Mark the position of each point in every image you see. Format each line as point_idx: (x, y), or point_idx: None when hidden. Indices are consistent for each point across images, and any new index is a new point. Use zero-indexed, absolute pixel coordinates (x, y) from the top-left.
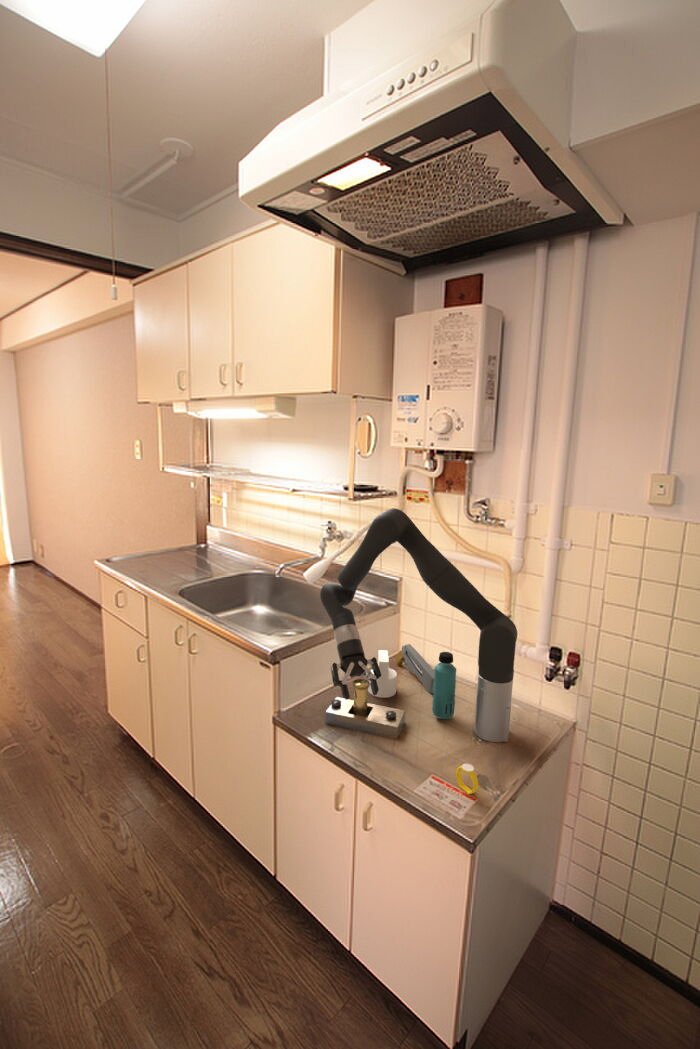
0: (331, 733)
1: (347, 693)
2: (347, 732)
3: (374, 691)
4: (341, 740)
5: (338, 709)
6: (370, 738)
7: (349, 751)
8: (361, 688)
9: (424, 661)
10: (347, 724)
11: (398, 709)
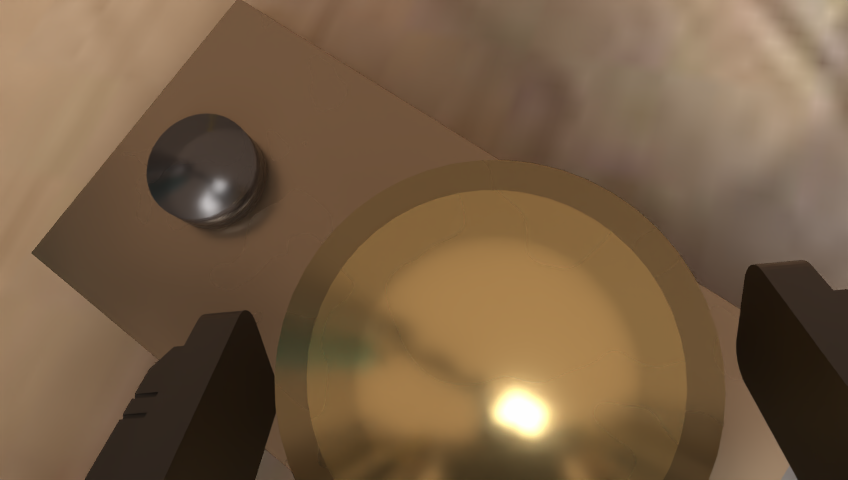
0: (836, 254)
1: (818, 294)
2: (670, 237)
3: (244, 351)
4: (752, 131)
5: (786, 473)
6: (486, 111)
7: None
8: (540, 175)
9: None
10: None
11: (81, 290)
